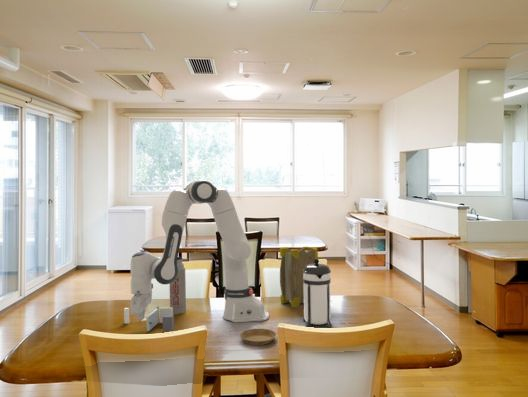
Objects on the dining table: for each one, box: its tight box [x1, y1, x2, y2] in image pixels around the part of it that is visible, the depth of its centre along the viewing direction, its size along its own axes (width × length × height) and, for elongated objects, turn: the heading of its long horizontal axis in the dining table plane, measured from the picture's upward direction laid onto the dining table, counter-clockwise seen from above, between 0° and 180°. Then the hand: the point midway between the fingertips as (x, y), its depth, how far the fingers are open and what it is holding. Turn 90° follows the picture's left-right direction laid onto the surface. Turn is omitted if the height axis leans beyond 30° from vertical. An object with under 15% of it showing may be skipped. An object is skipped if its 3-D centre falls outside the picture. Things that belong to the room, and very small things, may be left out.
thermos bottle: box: [169, 256, 187, 315], centre depth 216 cm, size 8×8×28 cm
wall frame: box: [123, 306, 173, 324], centre depth 199 cm, size 22×1×8 cm, turn 89°
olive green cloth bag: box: [279, 246, 319, 308], centre depth 230 cm, size 20×11×30 cm, turn 125°
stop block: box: [162, 314, 175, 333], centre depth 187 cm, size 4×4×7 cm
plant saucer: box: [239, 328, 277, 346], centre depth 175 cm, size 15×15×3 cm
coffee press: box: [302, 258, 333, 328], centre depth 195 cm, size 17×16×30 cm
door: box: [145, 308, 160, 332], centre depth 193 cm, size 12×2×6 cm, turn 174°
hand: (141, 319), depth 189 cm, fingers closed
